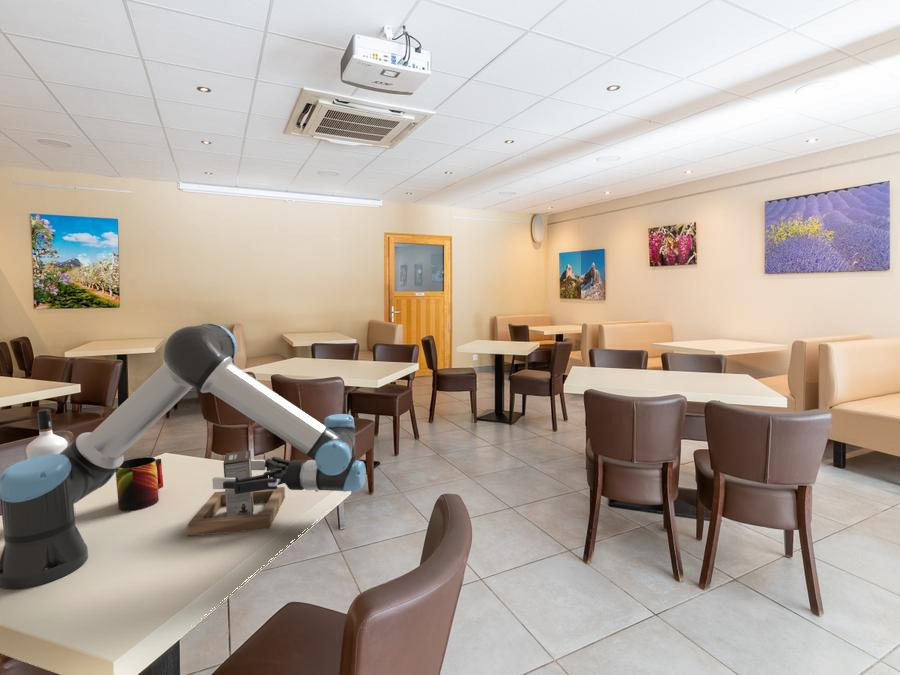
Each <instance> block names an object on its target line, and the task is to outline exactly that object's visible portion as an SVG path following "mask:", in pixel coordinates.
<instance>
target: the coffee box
mask: <svg viewBox="0 0 900 675" xmlns="http://www.w3.org/2000/svg"><path fill="white" fill-rule="evenodd" d="M251 454H252V453H251V450H250V449H249V450H242V451H234V452H227V453H225V454H224V460H223V464H222V465H223V478H236V477H238V479H244V478H249V477H253V474H252V472H253V470H252V468H251V460H252V457H251V456H252V455H251ZM224 490H225V496H226V505H225V509H226V516H238V515H250V514H254V509H255V508H254V506H255V504H254V503H253V492H246V493H239V494H235V493H234V489H224Z"/></svg>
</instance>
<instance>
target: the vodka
mask: <svg viewBox="0 0 900 675" xmlns="http://www.w3.org/2000/svg"><path fill="white" fill-rule="evenodd" d="M51 416H52V413H51V409H49V408H48V409H47V408H45V409H40V410H37V419H38V421H37V422H38V431H39V435H38V436H37V437H36V438H34V439H33V440H32V441H31V442H29V443H28V444H27V446H26V448H25V449H26V450H25V452H26V456H27V459H26V460H29V459H31V458H32V457H36V456H41V455H48V454H60V453H61V452H62V451H63V450H64V449H65V448H66V447H67V446H69V443H68V441H67V439H66V438H64V437H62V436H59V435H58V434H54V432H53V425H52V424H53V423H52V417H51ZM76 515H77V510H76V507H75V506H74V516H75V517H76Z"/></svg>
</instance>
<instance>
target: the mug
mask: <svg viewBox="0 0 900 675" xmlns="http://www.w3.org/2000/svg"><path fill="white" fill-rule="evenodd" d="M162 466H163V465H162V459H161V458H157V459H156V458H154V457H149V456H147V457H138V458H130V459H127V460H124V461H123V463H122V465H121V466H120V467H119V468H118V469H117V470H116V471H115V481H116V493H117V506H118V510H119V511H121V512H135V511H140V510H145V509H147V508H150V507H152V506H154V505H156V504H158V502H159V500H160V499H159V490H161V489H162V488H164V479H163V478H164V476H163V470H162V469H163V467H162Z"/></svg>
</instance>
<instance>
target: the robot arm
mask: <svg viewBox="0 0 900 675" xmlns="http://www.w3.org/2000/svg"><path fill="white" fill-rule="evenodd" d="M237 348H238V345H237V340H236V338H235V335H233V333H232V332H231V331H230V330H229V329H228V328H226V327H225V326H222V325H220V324H214V323H211V322H210V323H209V322H208V323H204V324H203V323H202V324H200V325H199V324H198V325H190V326H185V327H182V328H179V329H177V330H176V331H174V332H173V333H171V335H170V336H169V337H168V338H167V340H166V342H165V344H164V348H163V354H162V363H163V364H161V366H160V367H159V368H157V370H155V371H154V372H153V374H151V376H149V377H148V378H147V379H146V380H145V381H144V382H143V383H142V384H141V385H140V386H139V387H138V388H137V389H136V390H135V391H133V393H132V394H130V395H129V397H127V398H126V400H124V402H122V403H121V404H120V405H119V406H118V407H117V408H116V409H114V411H113V412H112V413H110V415H109V416H107V418H105V419H104V420H103V421H102V422H101V423H100V424H99V425H98V426H97V427H95V429H94V430H93V431H91V432H90V431H89V432H87V431H85V432H82V433H80V434H79V435H78V436H77V437H76V438H75V439H73V441H72V442H70V444H68V445H67V447H66V448H65V449H64V450H63V451H62V452H61V453H60V454H48V455H41V456H36V457H32V458H31V459H29V460H27V459H23V460H21V461H18V462H15V463H14V464H12V465H10V466H8V467H7V468H6V469H5V470H3V472H2V473H0V510H1V519H2V527H3V537H4V545H3V548H2V552H1V555H0V588H2V589H8V588H10V589H14V590H15V589H25V588H29V587H30V588H31V587H34V586H38V585H39V586H40V585H43V584H45V583H46V584H47V583H49V582H52V581H55V580H57V579H60V578H62V577H64V576H66V575H69V574H71V573H72V572H75V571H76V570H78V569H79V568H80V567H81V566H84V564H85V563H86V562H87V560H88V558H89V550H88V546H87V543H86V542H85V541H84V538H83V536H82V534H81V533H80V531H79V529H78V527H77V526H76V520H75V518H76V515H75V516H74V507H75V504H76V503H78V502H79V501H80V500H82V499H84V498H85V497H87V496H88V495H90V494H92V493H93V492H95V491H97V490H98V489H101V488H102V487H103V486H104V485H106V484H107V483H108V482H109V481H110V480H111V479H112V477H113V476H114V475H115V474H116V470H117V469H118V468H119V467H120V466H121V465H122V463H123V461H125V457H124V454H126V453H127V451H128V450H129V449H131V447H133V445H135V443H137V441H138V440H140V439H141V438H142V436H144V435H145V434H146V433H147V432H148V431H149V430H150V429H151V428H152V427H153V426H154V425H155V424H157V422H158V421H159V420H161V419H162V417H164V415H166V414H167V413H168V412H169V411H170V410H171V409H172V408H173V407H174V406H175V405H176V404H177V403H178V402H179V401H180V400H181V399H182V398H183V397H184V396H185V395H186V394H188V392H189V391H190V390H192V388H193V389H196V390H197V391H199V392H200V393H202V394H206V393H211V394H212V395H214V396H215V397H217V398H219V399H220V400H222V401H223V402H225V403H226V404H228V405H229V406H231V407H232V408H234V409H235V410H237V411H238V412H240V413H241V414H243V415H245V416H246V417H247V418H250V419H251V420H252V421H253V422H256V423H257V424H259V425H260V426H261V427H263V428H264V429H265V430H268V431H269V432H271V433H272V434H274V435H276V437H278V438H280V439H282V440H283V441H284V442H285V443H287V444H289V445H291V446H292V447H294V448H295V449H297V450H298V451H300V452H302V453H303V454H305V455H306V456H307V457H309V458H310V459H307V460H305V459H293V460H289V459H285V458H284V459H283V458H280V457H276V456H273V457H271V458H267V459H251V468H252V471H265V472H264V473H263V474H260V475H252V477H249V478H244V479H238V477H236V478H224V477H213V478H212V490H225V489H234V493H235V494H239V493H246V492H253V491H260V490H267V489H277V487H278V486H279V485H280V486H281V485H282V484H283V485H284V484H285V486H286V488H288V489H289V490H291V491H303V490H305V491H315V492H316V493H318V492H319V491H333V492H334V491H335V492H344V493H346V492H356V491H357V492H358V491H360V490H362V489H363V487H364V485H365V483H366V478H367V469H366V464H365V463H364V461H362V460H359V459H357V457H356V435H355V434H356V432H355V430H356V426H355V419H354V417H353V415H351V414H348V413H337V414H331V415H328V416H326V417H325V418H324V424H323V422H322V423H321V422H320V421H319V420H317V419H316V418H314V417H313V416H311V415H309V414H308V413H306V412H305V411H304V410H302V409H301V408H299V407H298V406H296V405H295V404H294V403H292V402H291V401H289V400H287V399H285V398H284V397H283V396H281V395H279V394H278V393H277V392H276V391H273V390H272V388H269V387H268V386H266V385H265V384H263V383H262V382H261V381H258V380H257V379H256V378H254V377H253V376H251V375H249V374H248V373H247V372H246V371H244V370H243V369H241V368H239V367H238V366H237V365H235V364H234V362H233V361H234V359H235V358H236V355H237V351H238V349H237Z"/></svg>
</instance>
